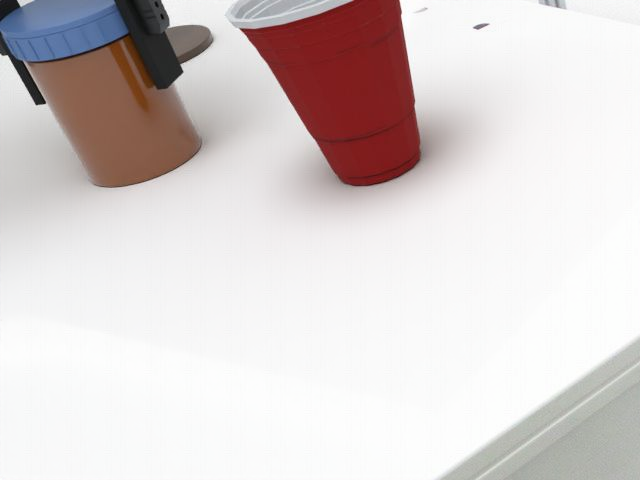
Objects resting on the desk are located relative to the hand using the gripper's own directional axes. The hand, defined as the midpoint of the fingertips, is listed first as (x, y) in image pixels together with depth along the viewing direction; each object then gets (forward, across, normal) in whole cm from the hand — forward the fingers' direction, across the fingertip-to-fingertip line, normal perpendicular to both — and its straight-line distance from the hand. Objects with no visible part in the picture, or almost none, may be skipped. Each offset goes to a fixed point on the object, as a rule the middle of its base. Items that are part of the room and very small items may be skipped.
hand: (109, 88), depth 76 cm
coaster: (+5, -10, +22) cm, 25 cm away
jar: (+5, 0, 0) cm, 5 cm away
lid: (-5, 0, 0) cm, 5 cm away
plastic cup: (+6, +20, -5) cm, 21 cm away
